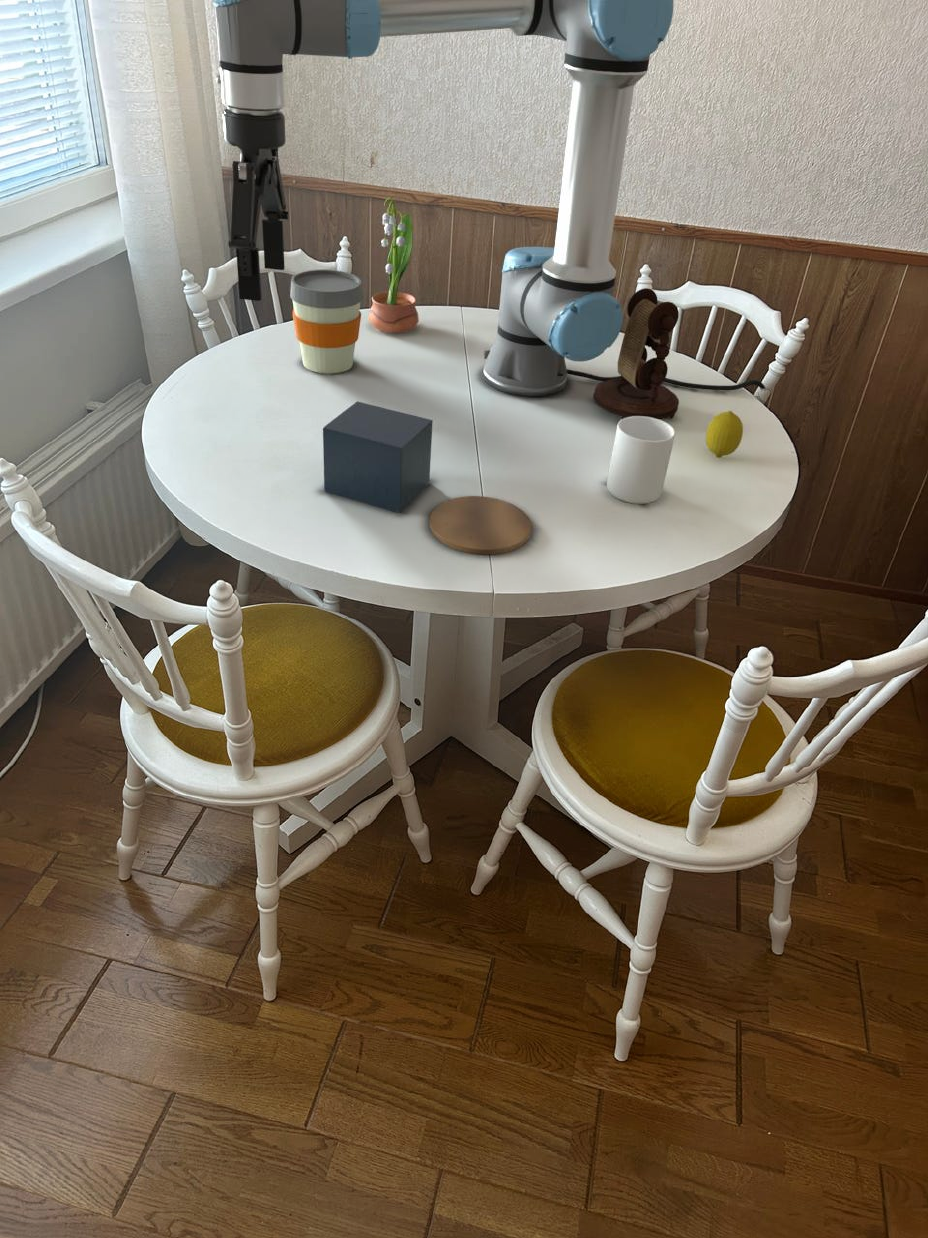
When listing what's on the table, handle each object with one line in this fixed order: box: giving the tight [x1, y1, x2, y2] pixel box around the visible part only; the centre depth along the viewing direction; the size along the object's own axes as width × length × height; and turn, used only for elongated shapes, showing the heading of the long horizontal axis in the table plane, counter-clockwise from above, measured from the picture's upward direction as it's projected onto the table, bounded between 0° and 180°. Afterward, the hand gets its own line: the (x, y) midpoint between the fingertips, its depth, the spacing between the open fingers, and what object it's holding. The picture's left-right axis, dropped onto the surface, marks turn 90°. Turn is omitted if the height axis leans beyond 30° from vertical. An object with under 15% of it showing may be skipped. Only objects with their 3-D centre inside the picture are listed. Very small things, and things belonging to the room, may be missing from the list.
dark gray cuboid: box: [322, 401, 434, 514], centre depth 131 cm, size 12×10×10 cm
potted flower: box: [368, 196, 419, 334], centre depth 177 cm, size 12×10×25 cm
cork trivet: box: [429, 495, 532, 555], centre depth 127 cm, size 14×14×1 cm
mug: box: [606, 416, 676, 505], centre depth 136 cm, size 12×8×10 cm
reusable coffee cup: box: [289, 269, 363, 374], centre depth 164 cm, size 12×12×15 cm
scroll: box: [592, 287, 680, 420], centre depth 156 cm, size 15×15×20 cm
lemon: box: [705, 410, 744, 459], centre depth 147 cm, size 6×6×8 cm
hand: (263, 283), depth 127 cm, fingers open, 13 cm apart
